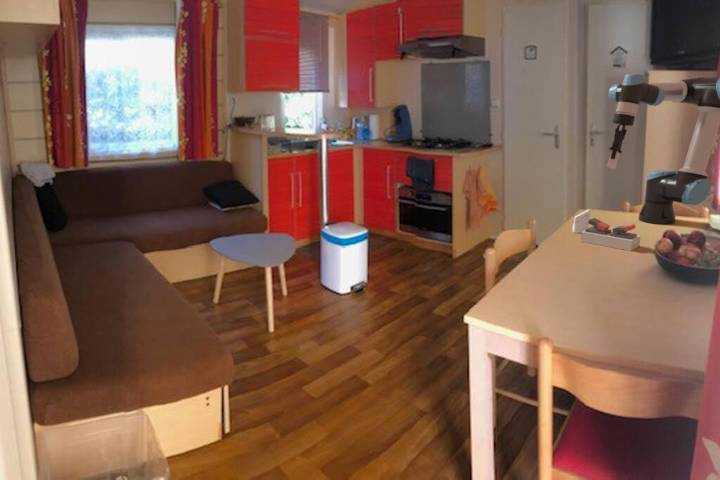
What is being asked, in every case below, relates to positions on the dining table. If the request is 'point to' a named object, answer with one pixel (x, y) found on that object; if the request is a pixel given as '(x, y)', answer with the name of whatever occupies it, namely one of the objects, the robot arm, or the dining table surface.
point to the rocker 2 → (623, 228)
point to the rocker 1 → (598, 224)
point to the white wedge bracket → (581, 222)
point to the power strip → (611, 238)
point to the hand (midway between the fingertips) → (611, 168)
